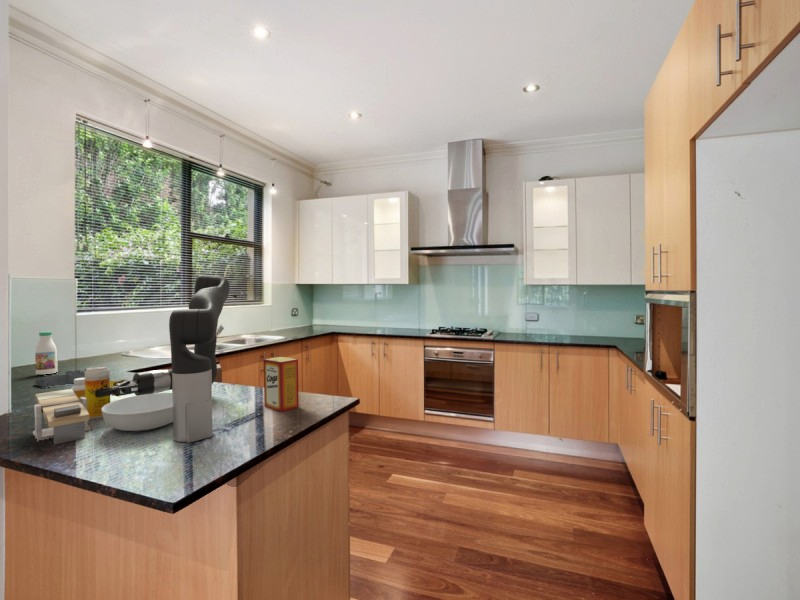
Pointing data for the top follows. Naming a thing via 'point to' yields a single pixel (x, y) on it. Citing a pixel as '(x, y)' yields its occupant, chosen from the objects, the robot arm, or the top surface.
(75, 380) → the supplement bottle
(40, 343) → the milk bottle
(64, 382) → the dark slate chunk
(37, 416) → the stand
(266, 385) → the baking soda box
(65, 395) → the seesaw
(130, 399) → the serving bowl
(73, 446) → the top surface
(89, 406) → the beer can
